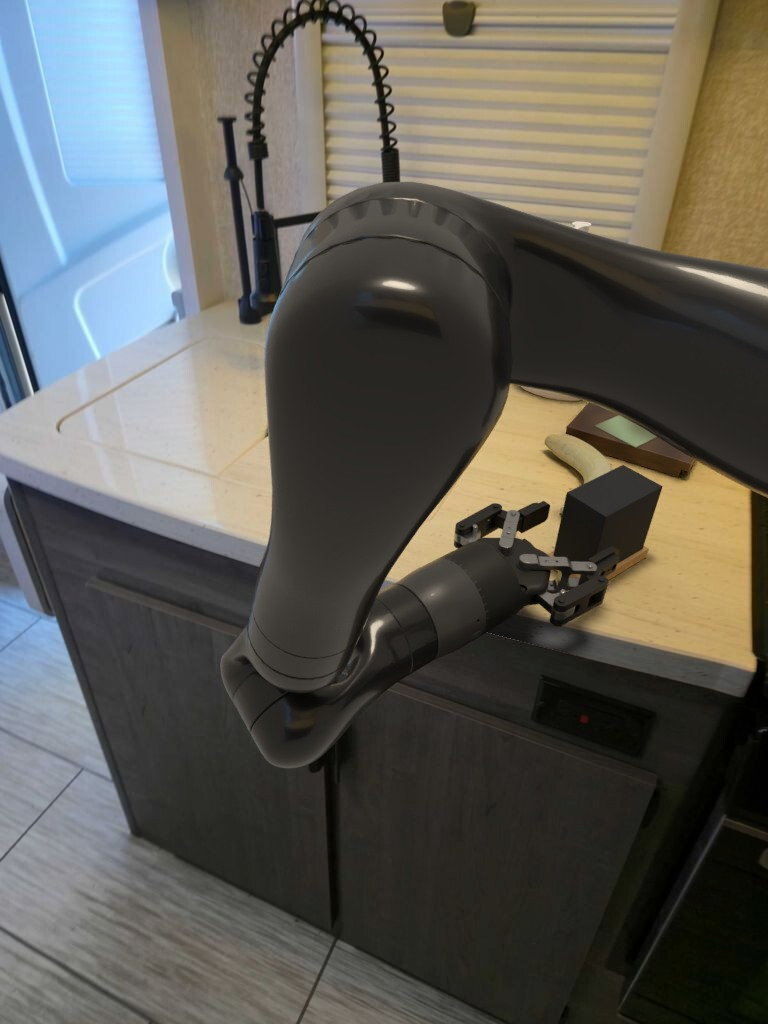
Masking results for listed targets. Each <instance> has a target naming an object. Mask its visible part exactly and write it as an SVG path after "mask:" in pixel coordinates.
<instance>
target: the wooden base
mask: <svg viewBox="0 0 768 1024" xmlns="http://www.w3.org/2000/svg"><path fill="white" fill-rule="evenodd" d="M564 435H570V436H573V437H576V438H578V439H580V440H582V441H584V442H586V443H588V444H589V445H591V446H592V447H594V448H595V449H596V450H598V451H599V452H600V453H601V454H602V455H604V456H609V457H611V458H614V459H619V460H621V461H625V462H628V463H630V464H631V463H632V464H635V465H638V466H640V467H644V468H647V469H650V470H653V471H657V472H660V473H663V474H667V475H670V476H673V477H675V478H678V477H679V476H680V474H681V472H682V471H686V472H689V471H690V470H691V468H692V466H693V465H694V463H695V461H696V460H694V459H693V458H691V457H689V456H688V455H686V454H684V453H683V452H681V451H679V450H678V449H676V448H674V447H673V446H671V445H670V444H668V443H666V442H665V441H663V440H662V439H660V438H658V437H657V436H655V435H654V434H652V433H650V432H649V431H647V430H645V429H644V428H642V427H640V426H638V425H637V424H635V423H633V422H631V421H629V420H627V419H625V418H624V417H622V416H620V415H618V414H616V413H614V412H611V411H609V410H607V409H604V408H602V407H600V406H598V405H595V404H592V403H589V402H587V404H586V405H584V407H583V408H582V409H581V410H580V411H579V413H578V414H577V415H575V417H574V418H573V419H572V420H571V421H570V422H569V424H567V425H566V429H565V433H564Z"/></svg>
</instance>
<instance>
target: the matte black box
mask: <svg viewBox="0 0 768 1024" xmlns="http://www.w3.org/2000/svg"><path fill="white" fill-rule="evenodd" d="M662 490H663V485H661V484H660V483H658V482H656V481H654V480H652V479H650V478H648V477H646V476H644V475H643V474H641V473H639V472H638V471H636V470H633V469H632V468H630V467H629V466H626V465H625V464H621V465H620V466H618V467H615V468H612V470H611V471H609V472H607V473H605V474H603V475H601V476H599V477H597V478H595V479H593V480H591V481H589V482H587V483H585V484H584V483H583V484H581V485H579V486H577V487H575V488H573V489H570V490H569V491H567V492H566V494H565V499H564V504H563V507H564V508H563V512H562V514H561V517H560V521H559V525H558V526H559V527H558V531H557V536H556V541H555V546H554V550H553V551H552V552H550V553H547V555H549V557H567V558H568V559H569V561H581V562H587V561H588V559H589V558H591V557H593V556H594V555H596V554H598V553H600V552H601V551H603V550H605V549H606V548H608V547H610V546H612V545H613V546H614V547H616V548H618V549H619V555H618V556H620V557H619V561H618V564H617V568H616V570H615V571H614V572H613V573H611V574H609V575H607V576H606V578H607V579H608V581H610V580H611V579H613V578H614V577H616V576H617V575H620V574H621V573H622V572H625V571H626V570H627V569H629V568H631V567H633V566H634V565H635V564H637V563H639V562H641V561H643V560H644V559H645V558H647V555H648V552H649V547H647V546H646V545H645V543H646V539H647V537H648V535H649V531H650V527H651V524H652V521H653V518H654V515H655V512H656V509H657V506H658V503H659V499H660V497H661V493H662ZM554 571H555V572H557V573H558V570H554ZM580 575H581V574H572V575H570V577H569V578H580Z"/></svg>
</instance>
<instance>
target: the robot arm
mask: <svg viewBox="0 0 768 1024" xmlns="http://www.w3.org/2000/svg"><path fill="white" fill-rule="evenodd" d="M269 320H270V321H269V323H268V327H267V330H266V335H265V341H264V353H263V355H264V356H263V357H264V364H263V365H264V386H265V387H264V389H265V404H266V420H267V437H268V450H269V451H268V453H269V465H270V482H271V513H270V526H269V527H270V528H269V536H268V540H267V544H266V547H265V550H264V552H263V555H262V558H261V561H260V564H259V568H258V571H257V575H256V579H255V580H256V581H255V583H254V584H255V585H254V589H253V593H252V598H251V599H252V600H251V606H250V610H249V616H248V621H247V622H246V624H245V625H244V626H243V628H242V629H241V630H240V631H239V633H238V635H237V636H236V637H235V638H234V639H233V640H232V641H231V642H230V644H228V646H227V647H226V648H225V649H224V651H223V653H222V655H221V658H220V662H219V666H220V667H219V668H220V675H221V680H222V683H223V686H224V689H225V691H226V692H227V694H228V696H229V698H230V699H231V702H232V703H233V705H234V707H235V708H236V711H237V712H238V714H239V715H240V717H241V719H242V721H243V722H244V725H245V726H246V729H247V730H248V732H249V734H250V736H251V738H252V740H253V741H254V743H255V745H256V747H257V749H258V751H259V752H260V754H261V755H262V757H263V758H264V759H265V761H266V762H268V763H269V764H270V765H272V766H274V767H276V768H279V769H298V768H302V767H306V766H308V765H310V764H312V763H315V762H316V761H317V760H319V759H320V758H321V757H322V756H324V755H325V754H326V753H327V752H328V751H329V750H330V749H331V748H332V747H333V746H334V745H335V744H336V743H337V742H338V741H339V739H340V738H341V737H342V736H343V735H344V734H345V733H346V731H347V730H348V729H349V728H350V727H351V726H352V724H354V722H355V721H356V720H357V719H358V718H359V716H360V715H362V713H364V711H365V710H367V708H369V706H371V705H372V704H373V702H375V701H376V700H377V699H378V698H379V697H380V696H381V695H383V694H384V693H385V692H387V690H389V689H391V687H393V686H394V685H395V684H397V683H398V682H400V681H401V680H403V679H405V678H406V677H408V676H410V675H411V674H414V673H415V672H416V671H419V670H420V669H421V668H423V667H425V666H427V665H429V664H430V663H432V662H433V661H436V660H437V659H440V658H441V657H445V656H447V655H450V654H452V653H454V652H455V651H458V650H460V649H461V648H463V647H465V646H466V645H468V644H470V643H472V642H474V641H476V640H477V639H479V638H480V637H482V636H483V635H485V634H487V633H488V632H490V631H491V630H493V629H495V628H497V627H498V626H500V625H502V624H504V623H506V622H507V621H509V620H510V619H512V618H513V617H515V616H516V615H517V614H518V613H519V612H520V611H521V610H523V609H524V608H525V607H529V606H535V605H540V606H541V608H543V609H544V610H545V611H547V613H549V614H550V616H549V623H550V624H551V625H552V626H554V627H562V626H564V625H566V624H568V623H569V622H572V621H574V620H575V619H577V618H579V617H581V616H582V615H584V614H587V613H589V612H590V611H591V610H594V609H595V608H597V607H600V606H601V605H602V604H603V602H604V599H605V596H606V592H607V589H608V585H609V582H610V580H608V579H607V578H606V576H607V575H609V574H611V573H613V572H614V571H615V570H616V568H617V564H618V561H619V557H620V556H618V555H619V549H618V548H616V547H614V546H613V545H612V546H610V547H608V548H606V549H605V550H603V551H601V552H600V553H598V554H596V555H594V556H593V557H591V558H589V559H588V561H587V562H581V561H569V559H568V558H567V557H549V555H548V553H546V552H545V551H543V550H541V549H539V548H537V547H535V546H534V545H533V543H531V541H529V540H528V539H526V538H522V539H521V538H519V537H517V534H518V533H520V534H524V533H526V532H527V531H529V530H532V529H534V528H535V527H538V526H540V525H541V524H543V523H545V522H546V521H547V520H548V518H549V514H550V510H551V505H550V503H548V502H546V501H545V500H542V501H540V502H532V503H529V504H528V505H526V506H524V507H522V508H520V509H517V510H516V509H509V510H505V509H503V505H502V504H500V503H496V502H495V503H494V502H493V503H491V504H489V505H486V506H485V507H483V508H482V509H479V510H478V511H476V512H474V513H473V514H471V515H469V516H467V517H465V518H463V519H462V520H460V521H457V522H456V523H455V527H454V535H453V536H454V537H453V546H454V547H455V548H456V549H455V550H452V551H450V552H448V553H446V554H445V555H442V556H440V557H438V558H436V559H434V560H432V561H430V562H427V563H426V564H424V565H422V566H419V567H418V568H416V569H414V570H413V571H411V572H409V573H408V574H406V575H405V576H404V577H402V578H401V579H399V580H398V581H396V582H394V583H393V584H390V585H389V586H387V587H385V588H383V589H382V586H383V584H384V582H385V581H386V579H387V577H388V575H389V574H390V572H391V571H392V569H393V567H394V565H395V564H396V563H397V561H398V560H399V558H400V557H401V555H402V554H403V552H404V551H405V549H406V548H407V547H408V545H409V544H410V542H411V541H412V539H413V538H414V536H415V535H416V533H417V532H418V531H419V529H420V528H421V527H422V525H423V524H424V523H425V522H426V520H428V518H429V517H430V515H431V514H432V513H433V511H434V510H435V509H436V508H437V507H438V505H439V504H440V503H441V502H442V500H443V499H444V497H446V495H447V494H448V493H449V492H450V490H451V489H452V488H453V486H454V485H455V484H456V482H457V481H458V480H459V479H460V477H461V476H462V475H463V474H464V472H465V471H466V470H467V468H468V467H469V465H470V464H471V463H472V462H473V461H474V458H476V456H477V455H478V454H479V451H481V449H482V447H483V446H484V445H485V444H486V442H487V440H488V438H489V437H490V436H491V434H492V432H493V431H494V429H495V427H496V425H497V424H498V422H499V420H500V418H501V416H502V414H503V411H504V409H505V406H506V403H507V400H508V397H509V392H510V387H511V385H512V386H518V387H521V386H523V387H528V388H534V389H540V390H545V391H551V392H555V393H559V394H563V395H567V396H571V397H575V398H578V399H581V400H580V401H584V402H586V403H592V404H595V405H598V406H600V407H602V408H604V409H607V410H609V411H611V412H614V413H616V414H618V415H620V416H622V417H624V418H625V419H627V420H629V421H631V422H633V423H635V424H637V425H638V426H640V427H642V428H644V429H645V430H647V431H649V432H650V433H652V434H654V435H655V436H657V437H658V438H660V439H662V440H663V441H665V442H666V443H668V444H670V445H671V446H673V447H674V448H676V449H678V450H679V451H681V452H683V453H684V454H686V455H688V456H689V457H691V458H693V459H694V460H695V461H696V462H698V463H699V464H701V465H702V466H704V467H706V468H708V469H710V470H712V471H714V472H716V474H717V473H718V474H719V475H721V476H723V477H724V478H726V479H728V480H730V481H732V482H735V484H738V485H740V486H742V487H744V488H746V489H748V490H750V491H752V492H754V493H755V494H758V495H761V496H763V497H765V498H767V499H768V268H765V267H758V266H754V265H747V264H740V263H736V262H730V261H724V260H718V259H717V260H716V259H711V258H704V257H698V256H691V255H685V254H680V253H674V252H669V251H663V250H657V249H652V248H649V247H644V246H640V245H636V244H632V243H628V242H623V241H620V240H617V239H613V238H610V237H605V236H602V235H598V234H595V233H592V232H590V231H588V232H585V231H582V230H579V229H576V228H573V226H568V225H566V224H562V223H559V222H555V221H552V220H549V219H546V218H542V217H540V216H537V215H533V214H530V213H527V212H524V211H520V210H518V209H515V208H512V207H510V206H506V205H502V204H500V203H496V202H493V201H490V200H486V199H483V198H480V197H477V196H475V195H474V196H473V195H471V194H467V193H464V192H461V191H457V190H453V189H450V188H446V187H442V186H438V185H435V184H428V183H423V182H416V181H387V182H386V181H383V182H378V183H374V184H370V185H366V186H362V187H358V188H356V189H354V190H352V191H350V192H348V193H346V194H344V195H342V196H340V197H338V198H336V199H335V200H334V201H332V202H330V203H329V204H328V205H326V207H324V208H323V209H322V210H321V211H320V212H319V213H318V214H317V215H316V217H315V218H314V219H313V220H312V221H311V223H310V224H309V225H308V227H307V228H306V231H305V232H304V234H303V236H302V238H301V240H300V241H299V245H298V247H297V249H296V251H295V253H294V256H293V259H292V262H291V264H290V266H289V269H288V271H287V274H286V277H285V278H284V281H283V284H282V288H281V290H280V292H279V294H278V297H277V299H276V303H275V305H274V307H273V310H272V313H271V316H270V319H269ZM498 529H500V530H501V535H500V537H486V536H488V535H490V534H492V533H493V532H495V531H496V530H498ZM517 532H518V533H517ZM555 570H558V572H557V573H556V577H555V579H553V580H550V578H551V572H552V571H555ZM572 574H581V575H580V578H569V577H570V575H572ZM345 669H346V671H347V676H346V677H344V678H343V679H341V680H340V681H338V682H336V680H337V679H338V678H339V677H340V676H341V675H342V673H343V672H344V671H345Z"/></svg>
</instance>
